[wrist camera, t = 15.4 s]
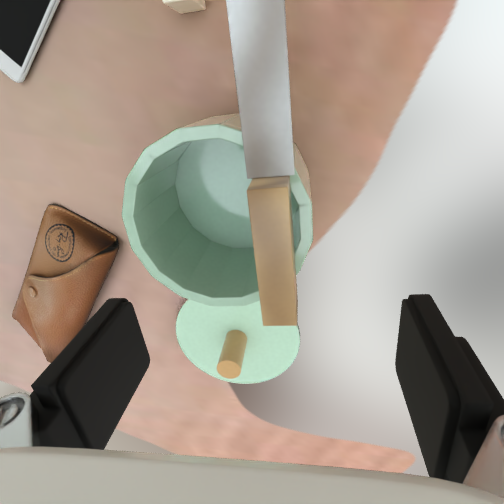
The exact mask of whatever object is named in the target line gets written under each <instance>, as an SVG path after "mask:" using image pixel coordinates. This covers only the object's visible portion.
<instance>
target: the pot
mask: <svg viewBox="0 0 504 504" xmlns="http://www.w3.org/2000/svg"><path fill="white" fill-rule="evenodd" d="M293 153H294V170H295V174H294V175H290V189H291V205H292V221H293V236H294V252H295V268H296V275H297V274H298V273H299V271H300V269H301V267H302V265H303V262H304V260H305V258H306V256H307V253H308V251H309V248H310V246H311V244H312V240H313V223H312V200H311V190H310V180H309V172H308V169H307V167H306V165H305V162H304V160H303V157H302V155H301V153H300V152H299V150H298V148H297V145H296V144H295V143H294V142H293ZM251 181H252V179H247V173H246V165H245V156H244V148H243V139H242V131H241V123H240V114H239V113H238V114H226V115H219V116H212V117H209V118H206V119H203V120H200V121H197V122H194V123H192V124H189V125H186V126H183V127H180V128H177V129H175V130H174V131H172V132H171V133H169V134H167V135H166V136H164V137H163V138H161V139H159V140H158V141H156V142H155V143H153V144H151V145H150V146H148V147H147V148H145V149H144V150H143V152H142V154H141V155H140V157H139V159H138V160H137V162H136V164H135V165H134V167H133V168H132V170H131V172H130V173H129V175H128V177H127V178H126V181H125V190H124V199H123V208H122V218H123V221H124V225H125V228H126V232H127V235H128V238H129V242H130V245H131V248H132V250H133V251H134V253H135V254H136V255H137V257H138V258H139V259H140V261H141V262H142V264H143V265H144V266H145V268H146V269H147V270H148V272H149V273H150V274H151V276H153V277H154V278H155V279H156V280H158V281H159V282H161V283H162V284H163V285H165V286H166V287H168V288H169V289H170V290H172V291H173V292H175V293H176V294H178V295H179V296H181V297H184V298H187V299H190V300H193V301H196V302H199V303H203V304H206V305H209V306H246V305H249V304H251V303H254V302H257V301H259V300H260V297H259V289H258V281H257V273H256V264H255V256H254V248H253V240H252V232H251V223H250V215H249V207H248V199H247V189H248V187H249V185H250V183H251Z"/></svg>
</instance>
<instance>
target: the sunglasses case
mask: <svg viewBox="0 0 504 504" xmlns="http://www.w3.org/2000/svg"><path fill="white" fill-rule="evenodd" d="M118 248H119V243H118V239H117V237H116V236H115V235H113V234H112V233H110V232H108V231H106V230H105V229H103V228H102V227H100V226H98V225H97V224H95V223H93V222H91V221H89V220H87V219H85V218H83V217H82V216H80V215H77V214H75V213H73V212H71V211H69V210H67V209H65V208H63V207H61V206H59V205H55V204H50V205H48V207H47V209H46V211H45V213H44V216H43V218H42V222H41V225H40V228H39V232H38V235H37V238H36V242H35V246H34V249H33V252H32V256H31V259H30V263H29V266H28V269H27V273H26V275H25V278H24V282H23V285H22V288H21V291H20V294H19V297H18V300H17V302H16V305H15V307H14V310H13V313H12V317H13V318H14V319H15V320H17V321H18V322H19V323H20V324H21V326H23V328H24V329H25V330H26V331H27V333H28V334H29V335H30V336H31V337H32V338H33V339H34V341H35V342H36V343H37V344H38V345H39V346H40V348H42V350H43V353H44V355H45V357H46V359H47V361H48V362H50V363H52V362H53V360H54V359H55V358H56V357H57V356H58V355H59V354H60V353H61V351H62V350H63V349H64V348H65V347H66V346H67V345H68V344H69V343H70V341H71V340H72V339H73V338H74V337H75V336H76V335H77V334H78V332H79V331H80V330H81V329H82V328H83V327H84V326H85V324H86V321H87V319H88V317H89V314H90V312H91V310H92V307H93V305H94V302H95V300H96V298H97V296H98V294H99V292H100V289H101V287H102V285H103V283H104V281H105V279H106V276H107V274H108V272H109V270H110V268H111V266H112V264H113V262H114V259H115V257H116V254H117V251H118Z"/></svg>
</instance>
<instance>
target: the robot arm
mask: <svg viewBox="0 0 504 504" xmlns="http://www.w3.org/2000/svg"><path fill="white" fill-rule="evenodd" d="M149 363H150V357H149V353H148V350H147V347H146V344H145V341H144V338H143V335H142V332H141V329H140V326H139V323H138V320H137V317H136V314H135V311H134V308H133V305H132V303H131V302H128V300H127V299H125V298H111V299H108V300H107V301H106V302H105V303H104V304H103V305H102V307H101V308H100V309H99V310H98V311H97V312H96V313H95V314H94V316H93V317H92V318H91V319H90V320H89V321H88V322H87V323H86V325H85V326H84V327H83V328H82V329H81V330H80V331H79V332H78V334H77V335H76V336H75V337H74V338H73V339H72V340H71V341H70V343H69V344H68V345H67V346H66V347H65V348H64V349H63V350H62V351H61V353H60V354H59V355H58V356H57V357H56V358H55V359H54V360H53V362H52V363H51V364H50V365H49V366H48V367H47V368H46V369H45V371H44V372H43V373H42V374H41V375H40V376H39V377H38V378H37V380H36V381H35V382H34V383H33V384H32V385H31V387H32V388H33V390H34V391H33V392H32V393H31V395H30V396H29V395H28V394H26V393H21V392H18V393H12V394H9V395H6V396H4V397H1V398H0V504H504V399H503V398H502V396H501V394H500V393H499V391H498V390H497V388H496V386H495V385H494V383H493V382H492V380H491V378H490V377H489V375H488V374H487V372H486V370H485V369H484V367H483V366H482V364H481V362H480V361H479V359H478V358H477V356H476V354H475V353H474V351H473V350H472V348H471V346H470V345H469V343H468V342H467V340H466V339H465V338H463V337H455V336H454V335H453V333H452V331H451V329H450V328H449V326H448V325H447V322H446V321H445V319H444V317H443V316H442V314H441V312H440V311H439V309H438V307H437V305H436V304H435V302H434V300H433V299H432V297H431V296H430V295H429V294H420V295H409V297H408V299H403V301H402V307H401V316H400V326H399V334H398V343H397V352H396V362H395V365H396V372H397V376H398V379H399V382H400V385H401V388H402V391H403V395H404V398H405V401H406V404H407V407H408V410H409V413H410V416H411V420H412V423H413V426H414V430H415V433H416V436H417V439H418V442H419V446H420V448H421V452H422V455H423V458H424V461H425V465H426V468H427V471H428V474H429V476H430V477H425V476H418V475H411V474H404V473H394V472H383V471H373V470H363V469H352V468H342V467H329V466H317V465H304V464H292V463H279V462H266V461H254V460H240V459H227V458H213V457H200V456H186V455H171V454H157V453H144V452H128V451H113V450H104V448H105V446H106V445H107V443H108V441H109V439H110V437H111V435H112V433H113V432H114V430H115V428H116V426H117V424H118V422H119V420H120V419H121V417H122V415H123V413H124V411H125V409H126V408H127V406H128V404H129V402H130V400H131V398H132V396H133V395H134V393H135V391H136V389H137V387H138V385H139V384H140V382H141V380H142V378H143V376H144V374H145V372H146V371H147V369H148V367H149Z"/></svg>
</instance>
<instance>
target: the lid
mask: <svg viewBox="0 0 504 504" xmlns="http://www.w3.org/2000/svg"><path fill="white" fill-rule="evenodd" d="M176 335H177V339H178V342H179V345H180V347H181V349H182V351H183V352H184V354H185V355H186V356H187V358H188V359H189V360H190V361H191V362H192V363H193V364H194V365H195V366H196V367H198V368H199V369H201V370H202V371H204V372H205V373H207V374H209V375H211V376H213V377H215V378H218V379H221V380H224V381H228V382H233V383H242V384H251V383H259V382H263V381H267V380H270V379H272V378H275V377H276V376H278V375H280V374H281V373H283V372H284V371H285V370H287V369H288V368H289V367H290V365H291V364H292V363H293V362H294V360H295V358H296V356H297V354H298V351H299V346H300V332H299V327H298V323H297V326H263V322H262V314H261V306H260V300H259V301H257V302H254V303H251V304H249V305H246V306H209V305H206V304H203V303H199V302H196V301H193V300H190V299H187V300H186V301H185V303H184V304H183V306H182V308H181V309H180V311H179V313H178V317H177V320H176Z"/></svg>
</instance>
